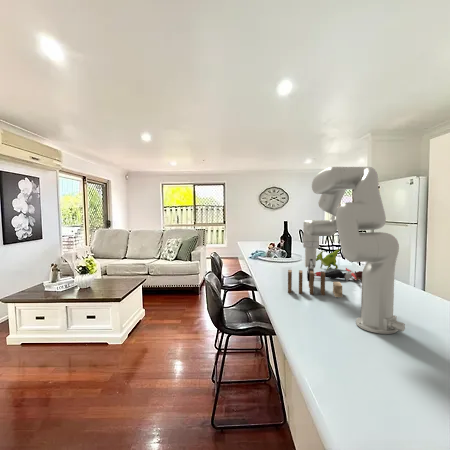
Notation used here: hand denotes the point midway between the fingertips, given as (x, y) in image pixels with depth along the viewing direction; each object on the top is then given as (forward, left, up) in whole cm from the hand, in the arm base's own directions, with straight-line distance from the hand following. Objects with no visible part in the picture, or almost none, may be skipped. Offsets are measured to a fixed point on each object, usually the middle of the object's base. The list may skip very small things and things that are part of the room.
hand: (310, 279), depth 149 cm
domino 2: (-5, +12, -4) cm, 13 cm away
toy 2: (+3, -24, -4) cm, 25 cm away
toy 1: (+25, -44, -4) cm, 51 cm away
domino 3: (0, 0, -4) cm, 4 cm away
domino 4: (-8, +8, -4) cm, 13 cm away
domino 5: (-12, +5, -4) cm, 13 cm away
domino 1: (-1, +16, -4) cm, 16 cm away
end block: (-17, 0, -4) cm, 17 cm away
